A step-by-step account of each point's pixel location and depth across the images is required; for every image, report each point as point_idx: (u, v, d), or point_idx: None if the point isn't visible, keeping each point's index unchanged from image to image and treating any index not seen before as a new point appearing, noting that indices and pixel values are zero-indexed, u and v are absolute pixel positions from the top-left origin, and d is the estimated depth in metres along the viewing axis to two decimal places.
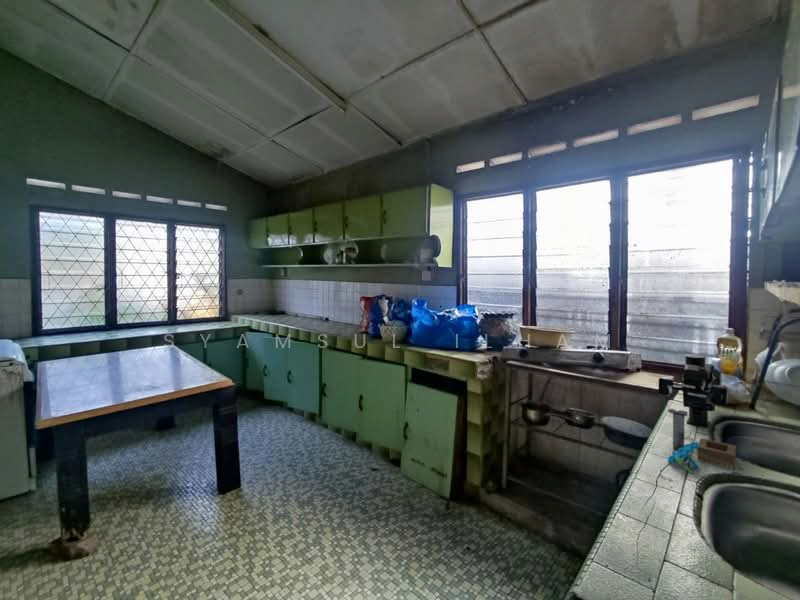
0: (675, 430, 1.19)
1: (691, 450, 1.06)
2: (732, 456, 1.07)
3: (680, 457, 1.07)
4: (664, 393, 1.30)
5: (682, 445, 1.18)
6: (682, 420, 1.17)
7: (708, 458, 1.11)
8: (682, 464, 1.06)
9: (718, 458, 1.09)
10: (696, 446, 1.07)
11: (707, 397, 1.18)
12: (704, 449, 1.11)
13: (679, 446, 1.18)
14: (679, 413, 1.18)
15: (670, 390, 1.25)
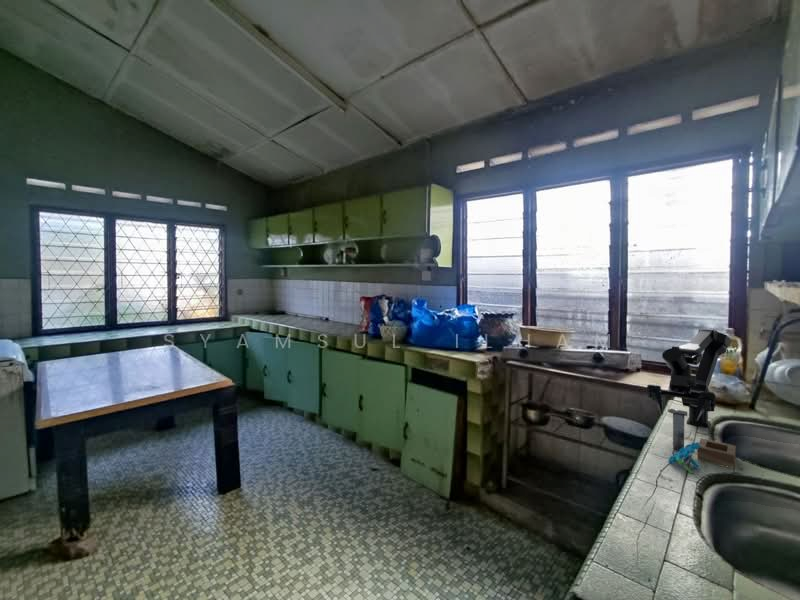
0: (675, 430, 1.19)
1: (691, 450, 1.06)
2: (732, 456, 1.07)
3: (680, 457, 1.07)
4: (654, 399, 1.31)
5: (682, 445, 1.18)
6: (682, 420, 1.17)
7: (708, 458, 1.11)
8: (682, 464, 1.06)
9: (718, 458, 1.09)
10: (697, 446, 1.06)
11: (697, 414, 1.18)
12: (704, 449, 1.11)
13: (679, 446, 1.18)
14: (679, 413, 1.18)
15: (660, 407, 1.25)
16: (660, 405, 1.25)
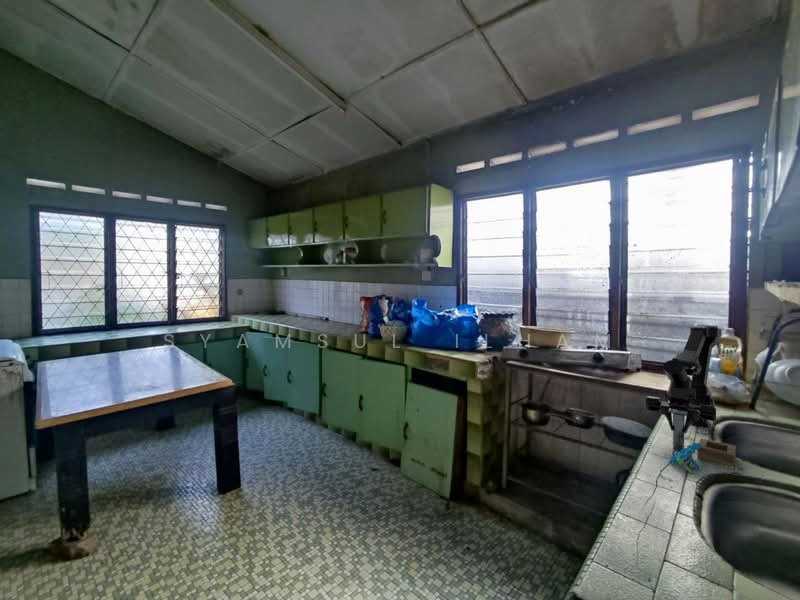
0: (675, 430, 1.19)
1: (692, 451, 1.06)
2: (732, 456, 1.07)
3: (681, 457, 1.07)
4: (663, 413, 1.25)
5: (682, 445, 1.18)
6: (682, 420, 1.17)
7: (708, 458, 1.11)
8: (683, 464, 1.06)
9: (718, 458, 1.09)
10: (697, 447, 1.06)
11: (686, 426, 1.17)
12: (704, 449, 1.11)
13: (679, 446, 1.18)
14: (679, 413, 1.18)
15: (670, 423, 1.20)
16: (670, 420, 1.20)
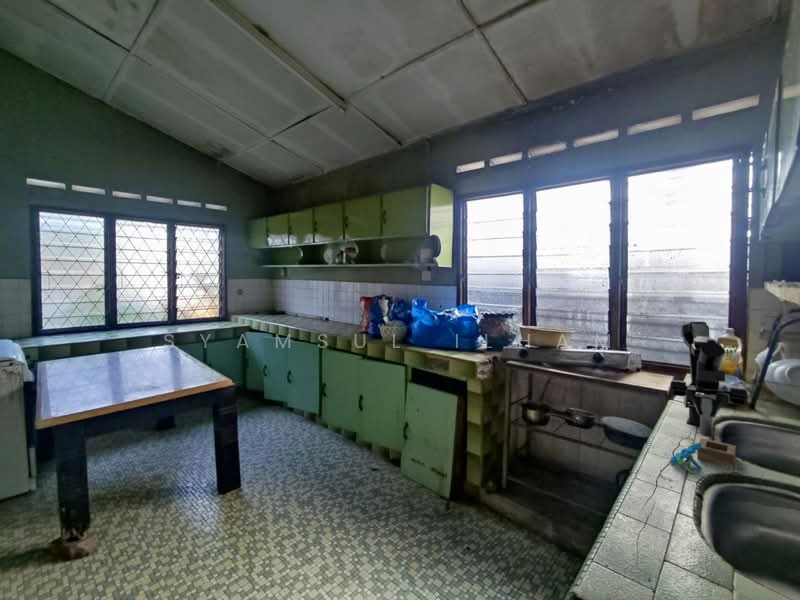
0: (703, 415, 1.13)
1: (692, 451, 1.05)
2: (732, 456, 1.07)
3: (681, 458, 1.07)
4: (689, 398, 1.20)
5: (710, 430, 1.12)
6: (710, 404, 1.12)
7: (708, 458, 1.11)
8: (683, 465, 1.06)
9: (718, 458, 1.09)
10: (698, 447, 1.06)
11: (714, 410, 1.12)
12: (704, 449, 1.11)
13: (707, 431, 1.13)
14: (707, 397, 1.13)
15: (698, 407, 1.14)
16: (697, 405, 1.15)
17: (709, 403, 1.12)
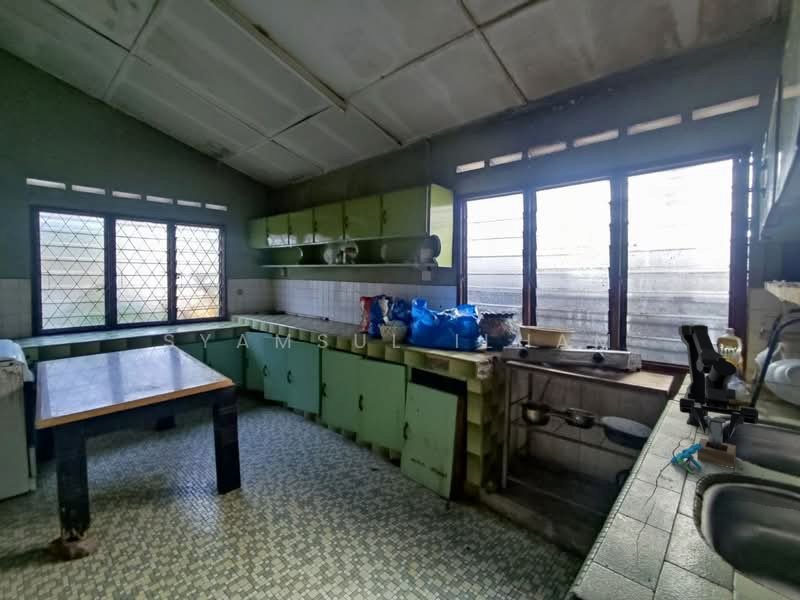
0: (713, 438, 1.12)
1: (693, 451, 1.05)
2: (732, 456, 1.07)
3: (681, 458, 1.07)
4: (694, 415, 1.19)
5: None
6: (720, 428, 1.10)
7: (708, 458, 1.11)
8: (683, 465, 1.06)
9: (718, 458, 1.09)
10: (699, 447, 1.06)
11: (730, 431, 1.09)
12: (704, 449, 1.11)
13: None
14: (717, 421, 1.11)
15: (703, 425, 1.14)
16: (702, 422, 1.14)
17: (719, 427, 1.10)
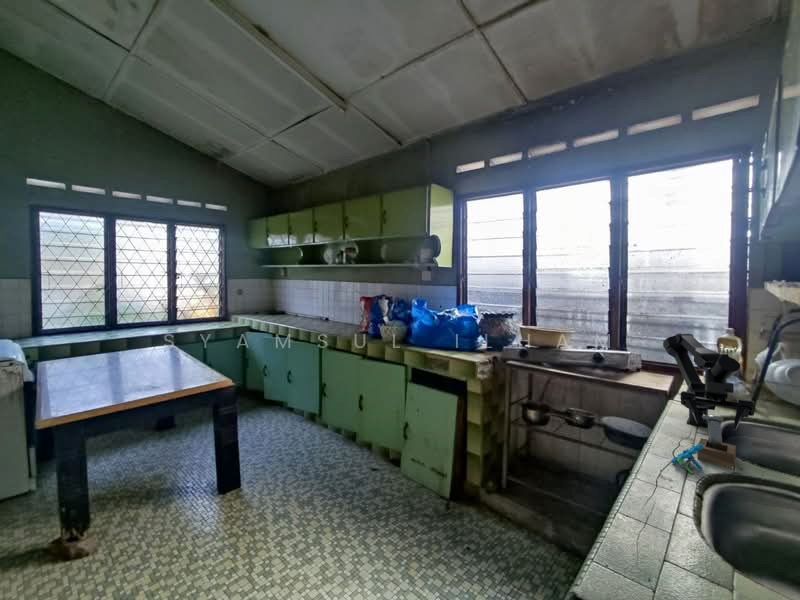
0: (712, 437, 1.12)
1: (693, 451, 1.05)
2: (732, 456, 1.07)
3: (682, 458, 1.07)
4: (687, 407, 1.27)
5: None
6: (719, 426, 1.11)
7: (708, 458, 1.11)
8: (683, 465, 1.06)
9: (718, 458, 1.09)
10: (699, 448, 1.06)
11: (736, 423, 1.15)
12: (704, 449, 1.11)
13: None
14: (715, 419, 1.12)
15: (696, 415, 1.22)
16: (695, 413, 1.22)
17: (717, 425, 1.11)
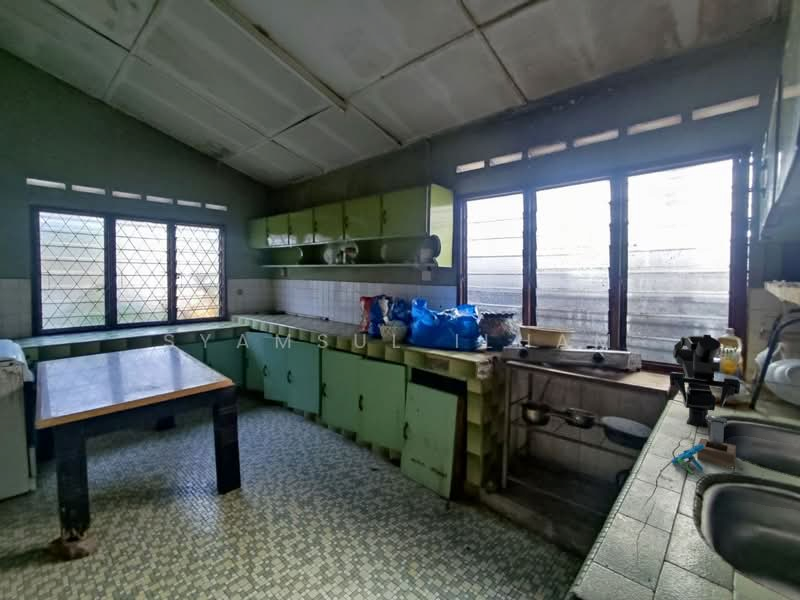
0: (714, 438, 1.12)
1: (693, 452, 1.05)
2: (732, 456, 1.07)
3: (682, 458, 1.07)
4: (676, 387, 1.32)
5: None
6: (722, 428, 1.11)
7: (708, 458, 1.11)
8: (683, 465, 1.06)
9: (718, 458, 1.09)
10: (700, 448, 1.05)
11: (722, 400, 1.20)
12: (704, 449, 1.11)
13: None
14: (718, 420, 1.11)
15: (684, 395, 1.26)
16: (684, 392, 1.26)
17: (720, 427, 1.11)
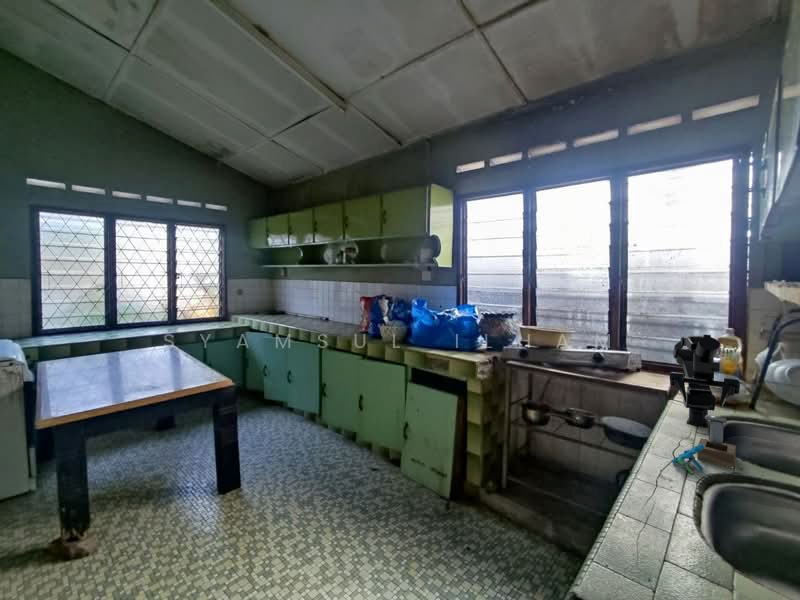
0: (713, 438, 1.12)
1: (694, 452, 1.05)
2: (732, 456, 1.07)
3: (682, 458, 1.07)
4: (676, 387, 1.32)
5: None
6: (721, 428, 1.11)
7: (708, 458, 1.11)
8: (683, 465, 1.06)
9: (718, 458, 1.09)
10: (700, 448, 1.05)
11: (722, 400, 1.20)
12: (704, 449, 1.11)
13: None
14: (718, 420, 1.11)
15: (684, 394, 1.26)
16: (683, 392, 1.26)
17: (720, 427, 1.11)
